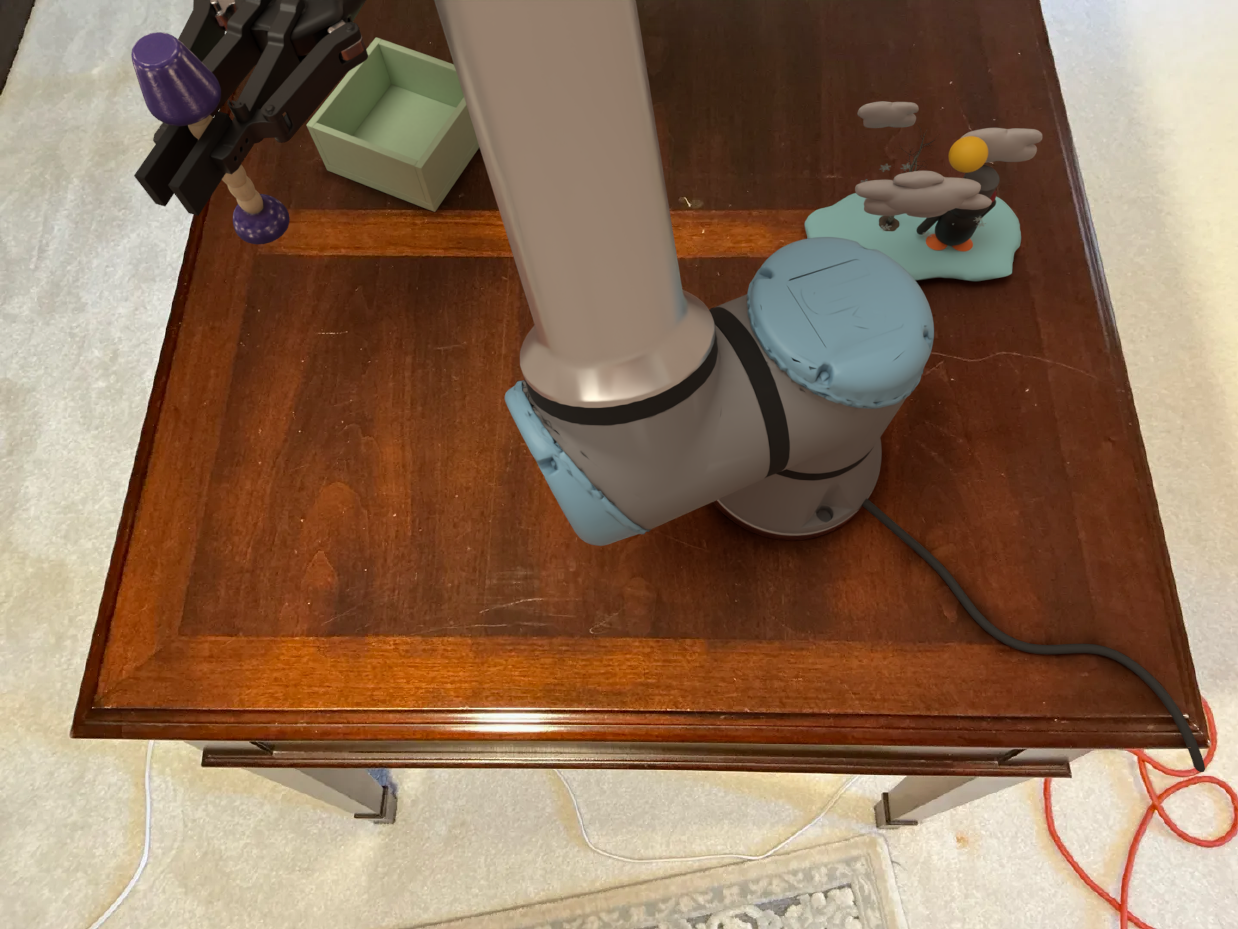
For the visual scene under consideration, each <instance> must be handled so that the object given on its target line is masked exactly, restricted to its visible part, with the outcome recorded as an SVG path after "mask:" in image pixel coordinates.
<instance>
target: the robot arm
mask: <svg viewBox="0 0 1238 929" xmlns="http://www.w3.org/2000/svg"><path fill="white" fill-rule="evenodd" d="M192 1H193V2H192V4H193V5H192V11H191V13H190V15H189V17H188V18H187V21H186V23H185V25H184V27H183V29H182V30H181V32H180V34H179V37H178V38H177V39H178V40H180V41H181V42H182V43H183V44H184V45H185V46H186V47H187V48H188V49H189V50H190V51H191V52H192V53H193V54H194V55H195V56H196V57H197V58H198V59H199V60H200V61H201V62H202V63H203V64H204V65H205V66H206V67H207V68H208V69H209V70H210V71H211V72H212V73H213V74H214V76H215V77H216V78H217V80H218V82H219V85H220V87H221V99H220V102H219V104H218V106H217V107H216V109H215V110H214V111H213V112H212V113H211V114H210V115H211V116H212V117H213V119H212V121H211V122H210V124H209V125H208V127H207V128H206V130H205V131H204V132H203V134H202V135H201V137H200V138H199V140H198V139H197V138H196V137H195V136H194V135H193V134H192V133H191V131H190V130H189V127H188V125H185V126H175V125H169V124H165V123H163V122H161V124H160V125H159V126H158V128H157V129H156V131H155V133H154V134H153V138H152V142H153V143H154V146H153V148H151V150H150V152H149V153H148V154H147V156H145V157H146V158H145V159H144V160H143V162H142V163H141V165H140V166H139V167H138V169H137V170H136V171H135V173H134V174H133V177H134V178H135V179H136V181H137V182H138V183H139V184H140V186H141V187H142V188H143V189H144V191H145V193H146V194H147V195H148V196H149V198H150V199H151V201H152V202H153V203H154V204H155V205H158V206H161V207H167V205H168V204H169V203H170V200H171V199H172V198H173V196H175V197H176V198H177V200H178V201H179V202H180V203H181V205H182V206H183V208H184V209H185V210H186V212H187V213H188V214H190V215H194V216H197V217H199V216H200V215H201V213H202V211H203V210H204V208H205V207H206V205H207V203H208V202H209V200H210V199H211V197H212V196H213V194H214V193H215V191H216V189H217V188H218V186H219V185H220V183H221V182H222V181H223V180H222V179H223V177H224V175H225V174H226V173H228V174H231V175H232V174H233V173H234V172H235V171H237V170H238V169H239V167H240V165H242V163H243V162H244V161H245V159H246V158H247V156H248V154H249V153H250V151H251V150H252V148H253V147H254V145H255V144H259V143H261V142H262V141H263V140H264V139H269V138H270V139H274V140H275V141H276V142H277V143H281V144H282V143H283V144H284V143H287V142H289V141H290V140H291V139H293V137H294V136H295V135H296V134H297V132H298V131H299V130H300V129H301V128H302V126H303V125H304V124H305V123H306V121H307V120H308V119H309V118H310V117H311V116H312V114H313V113H314V112H315V111H316V109H318V107H319V106H320V105H321V104H322V102H323V101H324V100H326V99H327V96H329V95H330V94H331V93H332V91H333V90H334V89H335V88H336V87H337V85H338V84H339V83H340V82H341V81H342V79H343V78H344V77H345V76H346V74H347V73H348V72H349V71H350V70H352V69H353V68H355V67H356V66H358V65H360V64H361V63H363V62H364V61H366V60H367V58H368V53H367V50H366V49H367V47H366V44H365V41H364V39H363V35H362V32H361V30H360V27H359V25H358V24H357V23H356V22H354V21H355V19H356V18H357V17H358V14H359V13H360V12H361V10H362V8H363V7H364V5H365V3H366V1H367V0H192ZM433 1H434V5H435V7H436V11H437V15H438V18H439V21H440V25H441V28H442V30H443V33H444V34H443V35H444V37H445V40H446V43H447V47H448V50H449V53H450V57H451V59H452V64H454V66H455V70H456V73H457V76H458V79H459V82H460V86H461V89H462V92H463V95H464V99H465V102H466V105H467V108H468V112H469V115H470V118H471V121H472V124H473V128H474V131H475V134H476V137H477V141H478V144H479V150H480V153H481V156H482V160H483V163H484V166H485V170H486V173H487V177H488V179H489V183H490V186H491V189H492V192H493V195H494V199H495V202H496V205H497V208H498V212H499V215H500V218H501V221H502V224H503V227H504V231H505V235H506V238H507V240H508V244H509V247H510V250H511V253H512V257H513V260H514V263H515V267H516V269H517V273H518V276H519V279H520V283H521V286H522V289H523V292H524V296H525V298H526V303H527V305H528V309H529V312H530V314H531V317H532V321H533V326H532V327H531V329H530V330H529V331H528V333H527V334H526V336H525V337H524V339H523V342H522V344H521V347H520V349H519V367H520V370H521V373H522V376H523V380H518V381H517V382H516V383H515V384H514V386H512V387H510V388H509V389H508V390H507V391H506V392H505V395H504V402H505V404H506V407H507V409H508V411H509V413H510V415H511V417H512V419H513V421H514V424H515V425H516V427H517V429H518V431H519V433H520V434H521V437H522V439H523V440H524V443H525V444H526V447H528V449H529V452H530V454H531V455H532V457H533V459H534V460H535V462H536V464H537V467H538V468H539V470H540V472H541V474H542V475H543V478H544V479H545V482H546V483H547V485H548V487H549V489H550V491H551V493H552V494H553V497H554V498H555V500H556V502H557V504H558V506H559V507H560V509H561V511H562V513H563V515H564V516H565V518H566V520H567V522H568V523H569V525H570V526H571V528H572V529H573V531H574V533H575V534H576V535H577V537H578V538H579V539H580V540H582V541H583V542H585V543H586V544H589V545H592V546H599V547H602V546H608V545H611V544H613V543H617V542H619V541H622V540H625V539H628V538H631V537H634V536H637V535H645V534H646V533H650V531H652V529H655V528H657V527H659V526H662V525H664V524H666V523H668V522H671V521H673V520H675V519H678V518H679V517H682V516H684V515H687V514H689V513H692V512H693V511H695V510H698V509H699V508H702V507H705V506H707V505H709V504H711V503H713V504H714V506H715V507H716V508H717V509H718V510H719V512H721V513H722V514H723V515H724V516H725V517H726V518H727V519H729V520H730V521H732V522H733V523H734V524H736V525H738V526H739V527H741V528H742V529H745V530H746V531H749V532H750V533H753V534H756V535H759V536H762V537H764V538H769V539H774V540H780V541H802V540H803V541H804V540H810V539H815V538H818V537H822V536H825V535H827V534H830V533H832V532H834V531H836V530H837V529H840V528H841V527H843V526H844V525H845V524H847V523H848V522H849V521H850V520H851V519H853V518H854V517H855V516H856V515H857V514H858V513H859V511H861V509H862V508H864V509H865V510H866V511H867V512H868V513H870V515H872V516H873V517H874V518H876V520H878V521H879V522H880V523H881V524H882V525H883V526H885V527H886V528H887V529H888V530H890V532H892V533H893V534H894V535H895V536H896V537H898V538H899V539H900V540H901V541H902V543H905V545H907V546H908V547H909V548H910V549H911V550H913V551H914V552H915V553H916V554H917V555H918V556H920V557H921V558H922V559H923V560H924V561H925V562H926V563H927V564H928V565H929V566H930V567H931V568H932V569H933V570H934V571H935V572H936V573H937V574H938V575H939V576H940V577H941V579H942V580H943V581H944V583H945V584H946V586H948V588H949V589H950V590H951V592H952V593H953V595H954V596H955V597H956V599H957V600H958V602H960V604H961V605H962V607H963V608H964V609H965V611H966V613H968V614H969V616H970V617H971V618H972V619H973V620H974V621H975V622H976V623H977V624H978V625H979V626H980V627H981V628H982V629H983V630H984V631H985V632H986V633H987V634H989V635H990V636H992V637H993V638H994V639H995V640H998V641H999V642H1000V643H1002V644H1004V645H1005V646H1008V647H1010V648H1013V649H1015V650H1017V651H1021V652H1025V653H1029V654H1035V655H1068V654H1069V655H1070V654H1089V655H1090V654H1091V655H1098V656H1103V657H1106V658H1109V659H1112V660H1113V661H1116V662H1118V663H1119V664H1121V665H1123V666H1124V667H1126V668H1127V669H1129V670H1130V671H1132V672H1133V673H1134V674H1135V675H1136V676H1138V677H1139V678H1140V679H1141V680H1142V681H1143V682H1144V683H1145V684H1146V685H1147V686H1149V688H1150V689H1151V690H1152V691H1153V692H1154V693H1155V695H1156V696H1157V697H1158V698H1159V700H1160V702H1162V704H1163V706H1164V707H1165V708H1166V710H1167V712H1168V713H1169V714H1170V716H1171V717H1172V720H1173V721H1174V723H1175V725H1176V727H1177V729H1178V730H1179V733H1180V735H1181V737H1182V740H1183V741H1184V744H1185V746H1186V748H1187V751H1188V753H1189V756H1190V759H1191V760H1192V761H1191V762H1192V765H1193V768H1194V769H1195V770H1196V771H1197V772H1199V773H1205V771H1206V766H1205V765H1206V764H1205V762H1204V757H1203V755H1202V753H1201V750H1200V747H1199V745H1198V742H1197V740H1196V737H1195V735H1194V733H1193V731H1192V729H1191V727H1190V725H1189V723H1188V721H1187V720H1186V718H1185V716H1184V714H1183V713H1182V711H1181V709H1180V708H1179V706H1178V705H1177V703H1176V702H1175V700H1174V699H1173V698H1172V696H1171V695H1170V694H1169V692H1168V691H1167V690H1166V689H1165V687H1164V686H1163V685H1162V684H1161V683H1160V682H1159V681H1158V680H1157V679H1156V677H1154V676H1153V675H1152V673H1150V672H1149V671H1148V670H1147V669H1145V668H1144V667H1143V666H1142V665H1140V664H1139V662H1137V661H1135V660H1133V659H1132V658H1131V657H1130V656H1128V655H1126V654H1124V653H1122V652H1121V651H1118V650H1116V649H1113V648H1111V647H1107V646H1106V645H1105V646H1104V645H1100V644H1094V643H1063V644H1061V643H1060V644H1038V643H1030V642H1027V641H1023V640H1020V639H1017V638H1015V637H1013V636H1011V635H1009V634H1007V633H1005V632H1004V631H1003V630H1000V629H999V628H998V627H997V626H995V625H994V624H993V623H992V622H991V621H989V620H988V619H987V617H985V615H983V613H981V612H980V610H979V609H978V608H977V607H976V606H975V604H974V603H973V601H972V600H971V599H970V597H969V596H968V595H967V593H966V592H965V590H964V589H963V588H962V587H961V586H960V584H959V582H957V580H956V578H955V577H953V575H952V574H951V573H950V571H949V570H948V569H947V568H946V567H945V566H944V565H943V563H941V562H940V561H939V559H938V558H936V557H935V556H934V555H933V554H932V553H931V551H929V550H927V549H926V547H924V545H922V544H921V543H920V542H918V541H917V540H916V539H915V538H914V537H913V536H912V535H910V533H908V532H907V531H906V530H905V529H903V528H902V527H901V526H900V525H899V524H898V523H897V522H895V520H893V519H892V518H891V517H890V516H888V514H886V513H885V512H884V511H882V509H880V508H879V507H878V506H877V505H875V503H873V502H872V501H871V500H869V498H870V497H871V495H872V493H873V491H874V490H875V487H876V485H877V483H878V480H879V476H880V472H881V466H882V458H883V457H882V455H883V454H882V453H883V452H882V451H883V450H882V439H881V437H882V435H883V434H884V433H885V431H886V429H887V428H888V426H889V425H890V424H891V422H892V421H893V419H894V418H895V416H896V415H897V413H898V411H899V410H900V408H901V407H902V405H903V404H904V403H905V401H906V399H907V398H908V397H909V396H911V394H912V393H913V392H914V391H915V389H916V387H917V386H918V385H919V384H920V382H921V379H922V375H923V374H924V369H925V366H926V364H927V362H928V360H929V358H930V356H931V354H932V349H933V347H934V346H933V345H934V339H935V323H934V317H933V313H932V309H931V306H930V303H929V301H928V299H927V297H926V295H925V293H924V291H923V289H922V288H921V286H920V285H919V283H918V282H917V281H915V280H914V278H913V277H912V276H911V275H910V274H909V273H908V272H907V271H906V270H905V269H904V268H903V267H902V266H901V265H900V264H898V263H897V262H896V261H895V260H893V259H892V258H890V257H889V256H887V255H886V254H884V253H882V252H881V251H879V250H877V249H867V248H864V247H863V246H861V245H860V244H859V243H858V242H856V241H852V240H848V239H843V238H836V237H814V238H804V239H800V240H796V241H793V242H790V243H788V244H786V245H783V246H782V247H780V248H778V249H777V250H776V251H774V252H773V253H772V254H770V255H769V256H768V257H767V259H766V260H764V262H763V263H762V265H761V266H760V268H759V269H757V271H756V273H755V275H754V277H753V278H752V279H751V281H750V283H749V285H748V288H747V293H746V294H744V295H741V296H739V297H736V298H733V299H731V300H729V301H726V302H724V303H722V304H719V305H717V306H714V307H712V308H709V307H708V306H707V305H706V304H705V303H704V301H702V300H701V299H700V298H699V297H697V296H696V295H694V294H693V293H691V292H689V291H687V290H685V289H683V285H682V279H681V274H680V273H681V272H680V267H679V259H678V254H677V253H678V252H677V247H676V240H675V235H674V231H673V222H672V216H671V210H670V204H669V199H668V193H667V186H666V179H665V174H664V167H663V162H662V160H663V159H662V154H661V149H660V143H659V137H658V136H659V135H658V131H657V124H656V117H655V111H654V105H653V99H652V94H651V93H652V92H651V87H650V81H649V80H650V79H649V73H648V67H647V61H646V56H645V48H644V43H643V36H642V30H641V24H640V18H639V12H638V11H639V10H638V6H637V1H636V0H433ZM250 73H251V74H250ZM249 74H250V75H249ZM248 75H249V78H248V80H247V81H246V83H245V85H244V87H243V88H242V91H241V93H240V95H239V96H238V98H237V100H230V99H229V98H231V96H232V95H233V94H234V93H235V91H236V90H237V89H238V88H239V87H240V85H241V84H242V83H243V81H244V80H245V79H246V78H247V76H248ZM225 104H227V106H228V108H229V110H230V112H231V113H232V115H233V119H232V118H231V116H230V115H229V113H227V112H223V111H220V110H221V108H222V107H223V106H224V105H225ZM284 114H285V115H284ZM1188 747H1191V748H1188Z"/></svg>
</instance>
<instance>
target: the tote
mask: <svg viewBox="0 0 1238 929" xmlns="http://www.w3.org/2000/svg"><path fill="white" fill-rule="evenodd" d="M366 50H367V53H368V58H367V60H366V61H364V62H363V63H361V64H360V65H358V66H356V67H355V68H353V69H352V70H350V71H348V72H347V73H346V74H345V75H344V76H343V77H342V79H341V80H340V81H339V82H338V83H337V85H336V86H335V87H334V88H333V90H332V91H331V92H330V93H329V95H328V97H326V98H325V101H324V102H323V103H322V104H321V106H320V107H319V108H318V110H316V112H315V113H314V114H313V116H312V117H311V118H310V120H309V121H308V122H307V123H306V128H307V130H308V132H309V135H310V137H311V138H312V141H313V143H314V145H315V147H316V149H317V152H318V154H319V156H320V158H321V160H322V162H323V164H324V166H325V168H326V171H327V172H331V173H333V174H336V175H337V176H340V177H343V178H345V179H349V180H350V181H353V182H356V183H359V184H362V185H364V186H367V187H369V188H371V189H374V190H377V191H379V192H381V193H385V194H387V195H390V196H392V197H395V198H398V199H400V200H403V201H405V202H408V203H410V204H413V205H416V206H418V207H421V208H424V209H426V210H429V211H430V212H434V213H435V212H436V211H437V210H438V209H439V207H440V206H441V204H443V201H444V200H445V198H446V197H447V195H448V194H449V192H450V191H451V189H452V188H453V187H454V186H455V184H456V182H457V181H458V179H459V178H460V176H461V175H462V173H463V172H464V170H465V169H466V167H467V166H468V165H469V163H470V162H471V160H472V159H473V157H474V156H475V154H476V153H477V151H478V150H479V149H480V147H479V144H478V141H477V137H476V134H475V131H474V128H473V124H472V121H471V118H470V115H469V112H468V108H467V105H466V102H465V99H464V95H463V92H462V89H461V86H460V82H459V79H458V76H457V73H456V70H455V66H454V63H451V62H448V61H445V60H442V59H440V58H436V57H433V56H432V55H428V54H425V53H423V52H420V51H416V50H414V49H411V48H408V47H406V46H403V45H399V44H396V43H394V42H391V41H388V40H386V39H382V38H380V37H375V38H374V39H373V40H372V41H371V42H370V43H369V45H368V47H366Z"/></svg>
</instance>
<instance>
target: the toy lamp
mask: <svg viewBox="0 0 1238 929" xmlns="http://www.w3.org/2000/svg"><path fill="white" fill-rule="evenodd" d="M130 53H131V54H130V56H131V57H130V58H131V62H132V66H133V69H134V72H135V75H136V78H137V81H138V85H139V88H140V92H141V94H142V97H143V100H144V103H145V105H146V108H147V110H148V111H149V113H150V114H151V115H152V116H153V117H154V118H155V119H156V120H158V121H159V122H161V123H162V122H163V123H165V124H169V125H175V126H185V125H188V127H189V130H190V131H191V133H192V134H193V135H194V136H195V137H196V138H197V139H198V140H199V138H200V137H201V135H202V134H203V132H204V131H205V130H206V128H207V127H208V125H209V124H210V122H211V121H212V119H213V118H214V117H212V116H211V115H210V114H211V113H212V112H213V111H214V110H215V109H216V107H217V106H218V104H219V102H220V99H221V87H220V85H219V82H218V80H217V78H216V77H215V76H214V74H213V73H212V72H211V71H210V70H209V69H208V68H207V67H206V66H205V65H204V64H203V63H202V62H201V61H200V60H199V59H198V58H197V57H196V56H195V55H194V54H193V53H192V52H191V51H190V50H189V49H188V48H187V47H186V46H185V45H184V44H183V43H182V42H181V41H180V40H178V38H177V37H176V36H174V35H172V34H171V33H168V32H161V31H158V32H157V31H156V32H151V33H148V34H145V35H143V36H142V37H140V38H139V39H138V40H137V41H135V43H134V45H133V46H132V48H131V52H130ZM221 181H222V182H223V183H224V184H226V186H227V189H228V191H229V193H230V194H231V195H232V196H233V197H234V198H235V199H236V202H237V205H236V206H235V208H234V210H233V213H232V226H233V228H234V231H235V233H236V235H237V237H239V238H240V240H242V241H244V242H246V243H247V244H252V245H266V244H270V243H273V242H275V241H277V240H278V239H280V238H281V237H283V236H284V234H285V233H286V232H287V230H288V228H289V225H290V220H291V219H290V213H289V211H288V208H287V207H286V206H285V205H284V204H283V202H282V201H280V200H279V199H277V198H276V197H275V196H272V195H269V194H265V193H259V191H257V189H256V188H255V184H254V182H253V181H252V179H251V178H250V177H249V176H247V171H246V169H245V168H244V166H243V165H242V164H241V165H240V167H239V169H238V170H237V171H235V172H234V173H233V174H232V175H231V174H228V173H226V174H225V175H224V177H223V179H222V180H221Z"/></svg>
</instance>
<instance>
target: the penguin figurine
mask: <svg viewBox="0 0 1238 929" xmlns="http://www.w3.org/2000/svg"><path fill="white" fill-rule="evenodd" d="M919 110H920V109H919V105H918V104H917V103H915V102H910V101H894V102H891V101H886V100H885V101H883V100H881V101H880V100H879V101H873V102H870V103H866V104H863V105H862V106H861V107H859V108H858V110H857V117H859V118H861V119H862V123H863V124H862V125H863V127H865V128H868V129H882V128H887V127H890V128H907V127H908V128H909V127H912V126H914V125H915V123H916V121H917V116H916V115H915V113H918V112H919ZM918 128H919V130H920V131H922V128H921V126H918ZM927 131H928V129H926V131H925V133H924V132H923V133H922V134H923V136H920V138H921V143H920V146H919V150H917V151H915V152H914V153H912V154H911V152H912V151H914V150H913V149H914V148H912V149H911V150H909V153H908V151H906V150H904V149H903V148H902V146H901V145H900V143H899V146H900V147H897V148H896V147H895V148H896V149H901V150H903V152H904V153H906V154H908V155H907V157H908V159H906V161H907V162H906V164H901V166H902V167H900V170H903V171H904V172H903V173H899V174H897V175H895V176H894V178H893V179H874V180H868V178H865V179H864V180H860V182H859V183H857V184H856V185H855V187H854V193H851V194H849V195H847V196H846V197H843V198H842V199H840V200H839V201H837V202H836V203H834V204H832V205H830V206H826V207H821V208H818V209H816V210H814V211H812V212H811V213H810V214H809V215H808V216H807V217H806V219H805V221H804V230H805V234H806V237H807V238H806V239H808V238H814V237H836V238H843V239H848V240H852V241H856V242H858V243H859V244H860V245H861V246H863V247H864V248H867V249H877V250H879V251H881V252H882V253H884V254H886V255H887V256H889V257H890V258H892V259H893V260H895V261H896V262H897V263H898V264H900V265H901V266H902V267H903V268H904V269H905V270H906V271H907V272H908V273H909V274H910V275H911V276H912V277H913V278H914V280H915V281H916V282H917V281H923V280H930V279H938V278H941V279H954V280H955V279H956V280H962V281H967V282H968V281H969V282H981V281H989V280H994V279H999V278H1001V279H1002V278H1005V277H1008V276H1010V275H1012V274H1013V262H1014V258H1015V254H1016V251H1017V250H1018V249H1019V248H1020V247H1021V242H1022V232H1021V223H1020V220H1019V218H1018V216H1017V215H1016V213H1015V212H1014V211H1013V209H1012V208H1011V207H1010V206H1009V204H1007V202H1005V201H1004V200H1003V199H1002V198H1000V197H998V196H997V190H996V189H997V188H998V186H999V184H1000V181H1001V180H1000V175H999V173H998V172H997V171H996V169H994V168H993V167H991V166H989V165H987V164H985V163H993V162H1004V163H1019V162H1020V163H1021V162H1026V161H1029V160H1031V159H1033V158H1035V156H1036V154H1037V151H1038V148H1037V146H1036V144H1038V143H1041V142H1042V140H1043V133H1042V132H1041V131H1040V130H1038V129H1035V128H1018V127H1017V128H1015V127H1014V128H1003V127H986V128H980V129H975V130H971V131H968V132H967V133H965V134H964V135H962V136H961V137H960V138H959V139H957V140H956V141H955V142H953V144H952V145H951V147H950V149H949V151H948V162H949V164H950V166H951V168H952V169H954V170H955V171H957V172H959V173H963V174H964V173H965V174H964V175H963V177H953V176H951V177H950V176H948V177H947V176H943V175H942V174H940V173H939V172H937V171H932V170H927V169H928V167H927V165H926V166H924V163H926V160H923V163H922V165H921V166H920V165H918V162H920V160H918V158H919V156H920V154H921V152H922V149H924V147H927V146H928V147H930V149H931V150H933V151H934V149H933V148H931V146H932V147H933V146H935V144H932V143H933V142H934V141H936V139H937V137H939V135H940V134H939V135H937V137H935V138H934V139H933V140H931V141H930V142H928V143H927V142H925V143H924V140H925V135H926V133H927ZM908 146H911V144H910V143H908ZM911 156H912V157H913V159H912V163H911ZM890 168H891V165H888V163H885V164H884V165H882V164H881V167H880V168H879V169H878V171H880V170H881V172H884V171H886V170H887V171H890ZM913 168H914V169H913ZM920 169H924V170H920ZM906 170H907V171H906Z"/></svg>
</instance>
